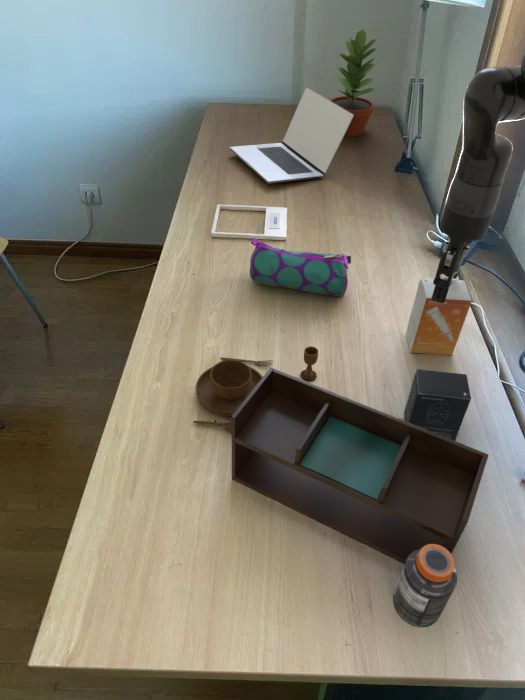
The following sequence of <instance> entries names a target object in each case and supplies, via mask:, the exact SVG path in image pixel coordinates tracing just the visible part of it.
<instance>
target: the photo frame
mask: <svg viewBox="0 0 525 700" xmlns="http://www.w3.org/2000/svg"><path fill="white" fill-rule="evenodd" d="M221 210H235V211H257V212H259V211H260V212H265V218H264V219H265V221H264V231H263V233H259V234H258V233H245V232H244V233H243V232H225V231H224V232H220V231H216V229H217V224H218V220H219V216H220V211H221ZM287 227H288V207H281V206H263V205H261V206H260V205H241V204H220V203H219V204H218V203H217V204H216V209H215V213H214V218H213V223H212V227H211V232H210V237H213V238H230V239H231V238H233V239H249V240H250V239H252V240H253V238H254V237H255V238H256V239H257V240H271V241H273V240H274V241H287V233H288V231H287V230H288V229H287Z"/></svg>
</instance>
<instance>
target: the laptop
mask: <svg viewBox="0 0 525 700" xmlns="http://www.w3.org/2000/svg"><path fill="white" fill-rule="evenodd" d="M330 100H331V99H328V98H326V97H325V96H324V95H321V94H320V93H318V92H317V91H314V90H313V89H311V88H310V87H307V86H306V87H305V88H304V91H303V92H302V94H301V98H300V100H299V102H298V103H297V106H296V109H295V111H294V114H293V116H292V118H291V120H290V123H289V124H288V127H287V130H286V131H285V134H284V136H283V139H282V140H281V142H274V143H273V142H272V143H263V144H250V145H249V144H247V145H236V146H229V150H230V151H231V152H232V153H233V154H234V155H235V156H237V158H239V159H240V160H241V161H242V162H243V163H244V164H245V165H247V167H248V168H250V169H251V170H252V171H254V173H256V174H257V175H258V176H259V177H260V178H261V179H262V180H263V181H264V182H265V183H267V184H268V185H271V184H279V183H287V182H288V183H289V182H290V183H291V182H298V181H307V180H316V179H317V180H318V179H322V178H324V177H325V176H326V175H327V172H328V170H329V168H330V166H331V164H332V162H333V160H334V158H335V156H336V155H337V152H338V149H339V148H340V145H341V144H342V142H343V139H344V137H345V136H344V135H345V133H346V131H347V129H348V127H349V125H350V123H351V121H352V119H353V117H354V115H353V114H352V113H350V112H348V111H347V110H345V109H343V108H342V107H340V106H338V105H337V104H335V103H333V102H332V101H330Z"/></svg>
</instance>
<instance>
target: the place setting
mask: <svg viewBox="0 0 525 700" xmlns="http://www.w3.org/2000/svg"><path fill="white" fill-rule="evenodd" d="M219 359H220V360H221V361H219V362H217V363H216V364H214V365H213V366H211V367H209V368H207V369H205V371H203V372H202V373H201V374H200V376H199V377H198V379H197V381H196V383H195V395H196V398H197V400H198V402H199V403H200V405H202V407H204V408H205V409H206V410H208V411H209V412H211V413H212V414H215V415H219V416H224V417H231V416H232V415H233V414H234V413H235V411H236V410H237V409H238V407H239V406H240V405H241V404H242V402H243V401H244V400H245V399H246V397H247V396H248V395H249V394H250V392H251V391H252V390H253V389H254V387H255V386H256V385H257V384H258V382H259V381H260V380H261V379H262V377H263V375H262V374H261V373H260V372H259V371H258V370H256V369H255V368H254V367H252V366H250V365H248V364H246V363H251V364H255V365H257V366H259V367H265V366H269V365H273V362H274V360H273V359H272V360H271V359H269V360H250V359H241V358H232V357H224V356H223V357H222V356H221V357H219ZM318 359H319V349H318V348H317V347H315V346H307V347H305V348H304V350H303V362H304V364H306V365H307V366H306V368H305V369H303V370H302V371H301V372H300V377H301V380H303V381H306V382H312V381H314V380H315V379H316V378H317V373H316V372H315V371H314V370H313V366H314V365H316V363H317V362H318ZM192 424H197V425H208V426H221V427H224V428H225V429H227V430H229V431H231V421H227V422H214V421H206V420H192Z"/></svg>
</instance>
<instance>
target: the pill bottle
mask: <svg viewBox="0 0 525 700" xmlns="http://www.w3.org/2000/svg"><path fill="white" fill-rule="evenodd" d="M455 565H456V564H455V558H454V557H453V555H452V554H451V553H450V552H449V551H448V550H447V549H446V548H444V547H442V546H440V545H437V544H428V545H425V546H424V547H422V548H421V549H418V550H415V551H414V552H412V553H411V554H410V555H409V556H408V558H407V560H406V562H405V564H403V567H402V570H401V573H400V575H399V578H398V580H397V582H396V586H395V588H394V590H393V594H392V604H393V608H394V611H395V613H397V616H399V618H400V619H401V620H402V621H404V622H405V623H406V624H408V625H410V626H411V627H415V628H428V627H431V626H433V625H434V624H436V623H437V622H438V620H439V619H440V617H441V615H442V613H443V611H444V610H445V607H446V606H447V604H448V602H449V600H450V598H451V596H452V595H453V593H454V591H455V590H456V587H457V583H458V573H457V570H456V567H455Z"/></svg>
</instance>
